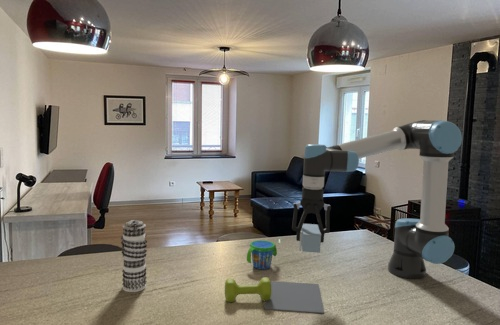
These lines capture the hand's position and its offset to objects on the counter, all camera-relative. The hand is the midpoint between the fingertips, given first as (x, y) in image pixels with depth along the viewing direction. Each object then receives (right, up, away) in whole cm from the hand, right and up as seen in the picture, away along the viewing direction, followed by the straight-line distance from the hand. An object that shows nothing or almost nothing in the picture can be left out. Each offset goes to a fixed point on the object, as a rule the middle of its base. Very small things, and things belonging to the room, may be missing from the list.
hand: (309, 249), depth 139 cm
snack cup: (-16, -13, +26) cm, 34 cm away
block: (0, +4, -8) cm, 9 cm away
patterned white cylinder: (-65, -15, +4) cm, 67 cm away
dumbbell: (-22, -17, -4) cm, 28 cm away
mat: (-6, -17, -1) cm, 18 cm away
